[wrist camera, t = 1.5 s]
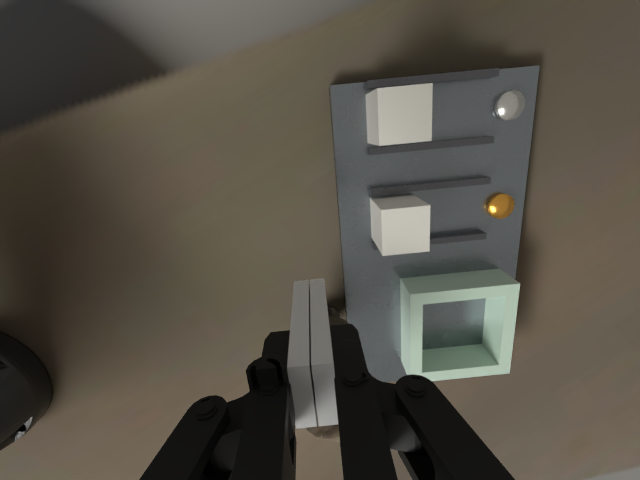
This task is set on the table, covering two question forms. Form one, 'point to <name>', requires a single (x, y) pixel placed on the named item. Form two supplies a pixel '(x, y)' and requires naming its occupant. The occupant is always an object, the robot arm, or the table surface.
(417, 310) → the socket
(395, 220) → the block
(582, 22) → the table surface
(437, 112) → the panel
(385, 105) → the block
